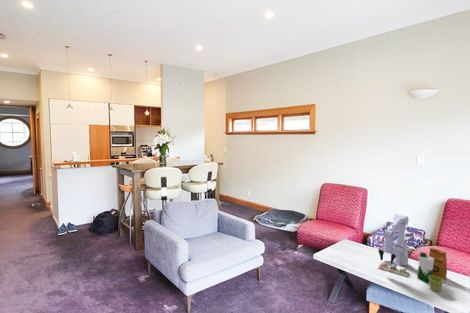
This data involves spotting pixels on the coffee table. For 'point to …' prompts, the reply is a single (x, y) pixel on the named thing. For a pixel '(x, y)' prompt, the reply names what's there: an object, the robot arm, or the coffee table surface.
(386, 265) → the button terracotta
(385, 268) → the button panel
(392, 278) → the coffee table surface
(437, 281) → the plant pot
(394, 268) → the button grey
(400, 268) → the button sage
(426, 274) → the milk carton
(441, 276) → the coffee package
